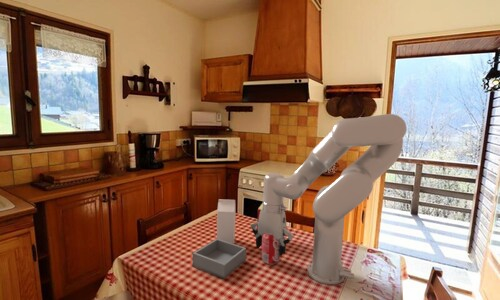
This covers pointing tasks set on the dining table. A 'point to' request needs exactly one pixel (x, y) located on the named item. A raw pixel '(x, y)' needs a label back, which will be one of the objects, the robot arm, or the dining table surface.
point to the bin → (219, 258)
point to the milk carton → (226, 220)
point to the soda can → (270, 249)
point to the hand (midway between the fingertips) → (270, 250)
